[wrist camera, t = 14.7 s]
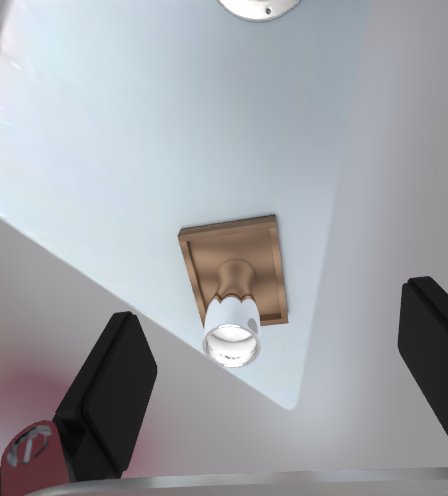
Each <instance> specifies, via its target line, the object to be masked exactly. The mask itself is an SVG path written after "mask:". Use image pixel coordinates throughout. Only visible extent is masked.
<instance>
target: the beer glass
mask: <svg viewBox="0 0 448 496" xmlns="http://www.w3.org/2000/svg"><path fill="white" fill-rule="evenodd" d="M216 280H217V289H216V291H215V293H214V295H213V297H212V299H211V301H210V304H209V307H208V309H207V313H206V318H205V325H204V339H203V350H204V352H205V354H206V356H207V357H208V358H209V359H210V360H211V361H213V362H214V363H216V364H218V365H220V366H224V367H230V368H236V367H242V366H245V365H248V364H250V363H251V362H253V361H254V360H255V359H256V358H257V356H258V355H259V352H260V338H261V319H260V312H259V307H258V304H257V301H256V298H255V295H254V291H253V285H254V282H255V272H254V270H253V268H252V267H251V266H250V265H249V264H248V263H246V262H244V261H241V260H229V261H227V262H225V263H223V264H222V265H221V266H220V267H219V268H218V270H217V274H216Z"/></svg>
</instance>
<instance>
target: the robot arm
mask: <svg viewBox="0 0 448 496" xmlns="http://www.w3.org/2000/svg"><path fill="white" fill-rule="evenodd" d="M217 1H218V3H219V4H220V5H221V6H222V7H223V8H224V9H225V10H227V11H228V12H229V13H230V14H232V15H234V16H236V17H237V18H239V19H243V20H246V21H250V22H264V21H269V20H273V19H275V18H278V17H280V16H282V15H284V14H285V13H287V12H288V11H290V10H291V9H293V8H294V7H295V6H296V5H297V4H298V3H299V2H300V1H301V0H217ZM267 9H270V11H271V12H270V14H267V13H266V10H267ZM399 322H400V323H399V333H398V349H399V352H400V354H401V356H402V358H403V360H404V361H405V363H406V365H407V367H408V368H409V370H410V372H411V374H412V375H413V377H414V379H415V380H416V382H417V384H418V386H419V387H420V389H421V390H422V392H423V394H424V396H425V398H426V399H427V401H428V403H429V404H430V406H431V408H432V410H433V411H434V413H435V415H436V416H437V418H438V420H439V422H440V423H441V425H442V426H443V428H444V430H445V432H446V434H447V435H448V294H447V293H446V292H445V291H444V290H443V289H442V288H441V287H440V286H439V285H438V284H437V283H436V282H435V281H434V280H433V279H432V278H431V277H429V276H425V277H417V278H410V279H409V280H408V282H407V283H404V284H403V286H402V297H401V309H400V321H399ZM156 376H157V365H156V362H155V360H154V357H153V355H152V352H151V350H150V347H149V345H148V342H147V340H146V337H145V335H144V332H143V330H142V327H141V325H140V322H139V320H138V318H137V316H136V315H133V314H132V313H131V312H130V311H127V312H119V313H114V314H113V316H112V317H111V319H110V320H109V322H108V324H107V325H106V327H105V329H104V331H103V332H102V334H101V336H100V337H99V339H98V341H97V342H96V344H95V346H94V347H93V349H92V351H91V352H90V354H89V356H88V358H87V359H86V361H85V363H84V365H83V366H82V368H81V370H80V371H79V373H78V375H77V376H76V378H75V380H74V381H73V383H72V385H71V386H70V388H69V390H68V392H67V393H66V395H65V397H64V399H63V400H62V402H61V403H60V405H59V407H58V409H57V410H56V412H55V413H56V414H55V416H54V418H53V420H52V421H50V420H42V421H38V422H35V423H33V424H31V425H29V426H27V427H26V428H25V429H23V430H22V431H21V432H19V433H18V434H17V435H16V436H15V437H14V438H13V439H12V440H11V441H10V443H9V444H8V445H7V447H6V448H5V450H4V453H3V455H2V458H1V466H0V496H448V467H436V468H392V469H361V470H330V471H329V470H328V471H300V472H299V471H298V472H269V473H242V474H219V475H218V474H216V475H192V476H169V477H144V478H126V479H121V475H122V472H123V471H125V470H127V468H128V466H129V463H130V460H131V457H132V454H133V450H134V447H135V444H136V441H137V437H138V434H139V431H140V428H141V425H142V422H143V418H144V415H145V412H146V408H147V405H148V402H149V399H150V396H151V393H152V389H153V386H154V383H155V380H156Z"/></svg>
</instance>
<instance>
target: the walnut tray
mask: <svg viewBox="0 0 448 496" xmlns="http://www.w3.org/2000/svg"><path fill="white" fill-rule="evenodd" d="M178 240H179V243H180V247H181V250H182V254H183V257H184V261H185V264H186V268H187V271H188V275H189V278H190V282H191V285H192V289H193V292H194V296H195V300H196V303H197V307H198V310H199V314H200V317H201V321H202V324H203V328H204V325H205V318H206V313H207V309H208V307H209V304H210V301H211V299H212V297H213V295H214V293H215V291H216V289H217V280H216V274H217V270H218V268H219V267H220V266H221V265H222V264H223V263H225V262H227V261H229V260H241V261H244V262H246V263H248V264H249V265H250V266H251V267H252V268H253V270H254V272H255V282H254V285H253V291H254V295H255V298H256V301H257V304H258V307H259V312H260V319H261V326H266V325H276V324H285V323H289V322H288V314H287V306H286V298H285V290H284V282H283V274H282V266H281V258H280V250H279V242H278V234H277V226H276V219H275V215H270V216H263V217H257V218H250V219H244V220H237V221H231V222H224V223H218V224H211V225H205V226H198V227H192V228H185V229H181V230H180V232H179V234H178Z"/></svg>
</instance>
